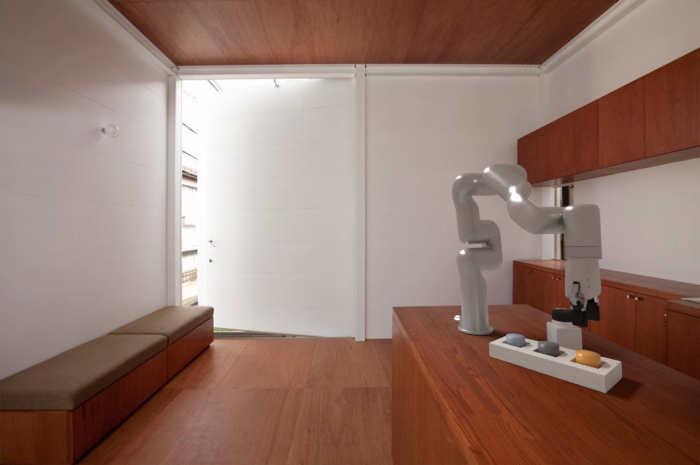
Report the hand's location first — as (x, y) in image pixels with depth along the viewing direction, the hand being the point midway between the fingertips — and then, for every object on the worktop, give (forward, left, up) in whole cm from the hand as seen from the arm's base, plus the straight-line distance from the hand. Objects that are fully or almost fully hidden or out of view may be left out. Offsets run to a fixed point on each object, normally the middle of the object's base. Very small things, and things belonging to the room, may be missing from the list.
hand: (586, 322), depth 77 cm
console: (-9, 0, -14) cm, 17 cm away
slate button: (-18, 0, -11) cm, 21 cm away
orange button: (0, 0, -11) cm, 11 cm away
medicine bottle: (-12, +18, -14) cm, 26 cm away
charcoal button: (-9, 0, -11) cm, 14 cm away
